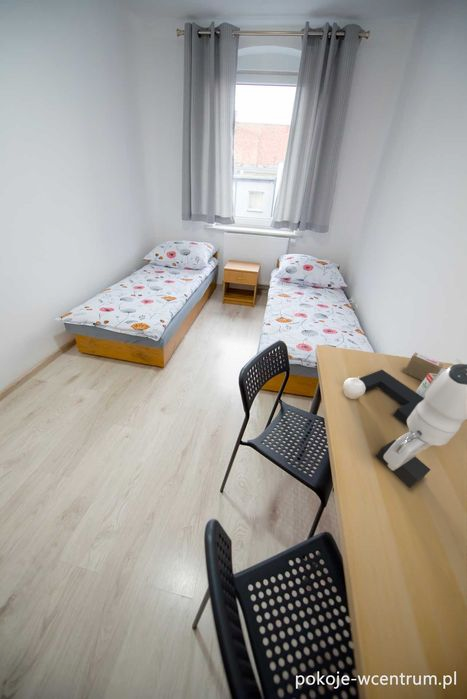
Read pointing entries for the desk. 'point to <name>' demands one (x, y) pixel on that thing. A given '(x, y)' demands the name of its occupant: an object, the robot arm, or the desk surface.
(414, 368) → the ink box
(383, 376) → the big pad
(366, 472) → the desk surface
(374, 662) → the desk surface
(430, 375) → the ink box
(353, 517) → the desk surface
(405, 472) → the small pad
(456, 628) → the desk surface
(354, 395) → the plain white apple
